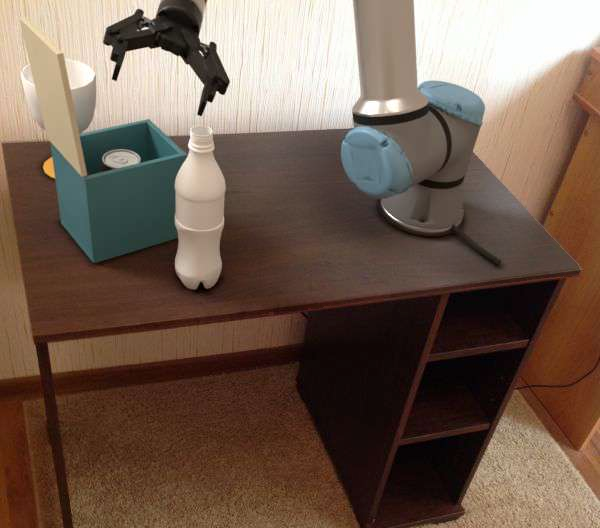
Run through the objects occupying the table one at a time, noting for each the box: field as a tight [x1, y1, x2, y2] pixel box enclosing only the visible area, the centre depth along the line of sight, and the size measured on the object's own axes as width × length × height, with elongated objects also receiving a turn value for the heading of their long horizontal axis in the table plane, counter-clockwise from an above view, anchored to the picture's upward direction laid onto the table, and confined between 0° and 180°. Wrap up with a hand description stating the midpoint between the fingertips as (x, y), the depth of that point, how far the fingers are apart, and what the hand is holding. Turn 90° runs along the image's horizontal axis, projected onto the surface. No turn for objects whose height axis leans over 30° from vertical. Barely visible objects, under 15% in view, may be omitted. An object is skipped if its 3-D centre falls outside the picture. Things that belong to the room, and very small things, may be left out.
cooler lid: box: [18, 15, 87, 177], centre depth 103 cm, size 18×12×1 cm
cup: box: [20, 58, 97, 180], centre depth 129 cm, size 12×12×17 cm
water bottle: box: [174, 124, 227, 290], centre depth 109 cm, size 7×7×25 cm
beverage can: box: [100, 149, 141, 172], centre depth 120 cm, size 7×7×12 cm
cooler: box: [49, 118, 188, 264], centre depth 119 cm, size 17×12×15 cm
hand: (159, 91), depth 115 cm, fingers open, 13 cm apart
